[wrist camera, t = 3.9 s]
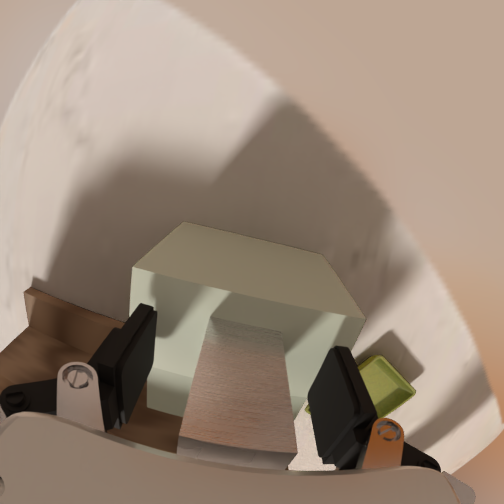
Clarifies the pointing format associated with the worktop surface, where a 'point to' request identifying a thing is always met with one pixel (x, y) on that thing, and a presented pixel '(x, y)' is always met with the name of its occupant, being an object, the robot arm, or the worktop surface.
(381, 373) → the olive green square tray
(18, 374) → the wall board
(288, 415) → the pale green stepped block
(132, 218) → the worktop surface
